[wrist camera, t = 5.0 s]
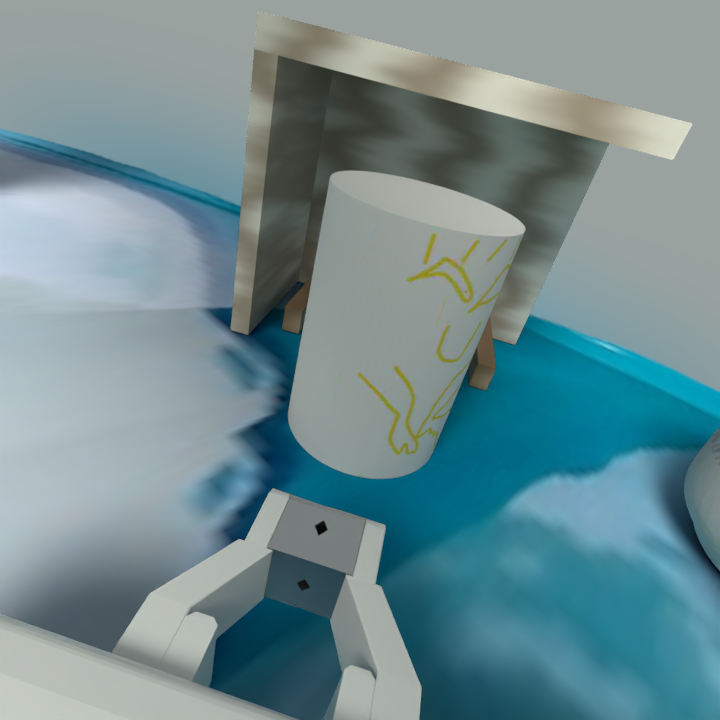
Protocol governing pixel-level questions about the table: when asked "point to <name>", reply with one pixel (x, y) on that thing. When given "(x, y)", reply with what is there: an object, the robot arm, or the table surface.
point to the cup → (393, 318)
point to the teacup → (706, 496)
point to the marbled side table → (413, 158)
